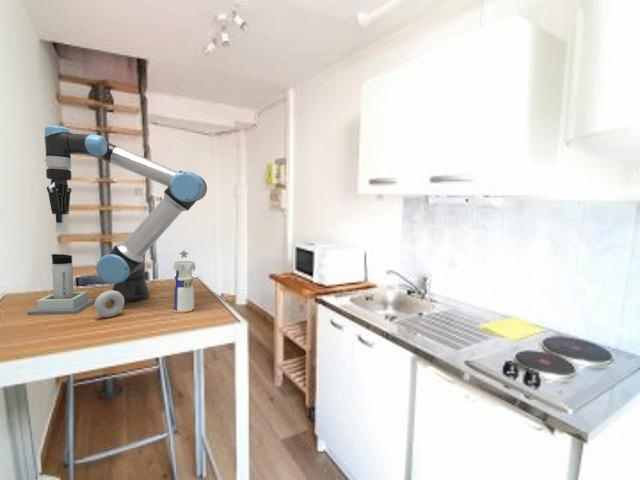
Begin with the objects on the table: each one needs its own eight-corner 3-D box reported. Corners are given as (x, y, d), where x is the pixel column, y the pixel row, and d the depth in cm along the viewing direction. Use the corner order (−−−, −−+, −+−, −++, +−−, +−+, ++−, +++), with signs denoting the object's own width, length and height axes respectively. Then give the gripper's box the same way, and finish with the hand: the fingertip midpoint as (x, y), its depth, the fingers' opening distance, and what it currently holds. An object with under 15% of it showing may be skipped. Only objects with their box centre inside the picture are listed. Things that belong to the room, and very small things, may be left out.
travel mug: (59, 302, 137) (57, 253, 135) (77, 302, 137) (75, 253, 135) (48, 307, 130) (46, 255, 128) (67, 307, 131) (65, 255, 129)
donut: (96, 321, 121) (96, 293, 120) (92, 319, 123) (92, 292, 122) (126, 314, 129) (126, 288, 128) (122, 312, 131) (121, 287, 130)
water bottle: (199, 310, 137) (200, 248, 135) (179, 314, 131) (178, 250, 128) (190, 305, 143) (190, 246, 140) (169, 309, 137) (169, 247, 134)
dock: (95, 301, 143) (95, 290, 143) (76, 313, 128) (76, 301, 127) (51, 302, 140) (51, 291, 139) (27, 314, 124) (26, 302, 124)
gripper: (56, 169, 134) (59, 229, 136) (37, 166, 121) (39, 232, 124) (78, 171, 136) (80, 230, 138) (61, 167, 123) (63, 232, 125)
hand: (61, 231), depth 131 cm, fingers closed
